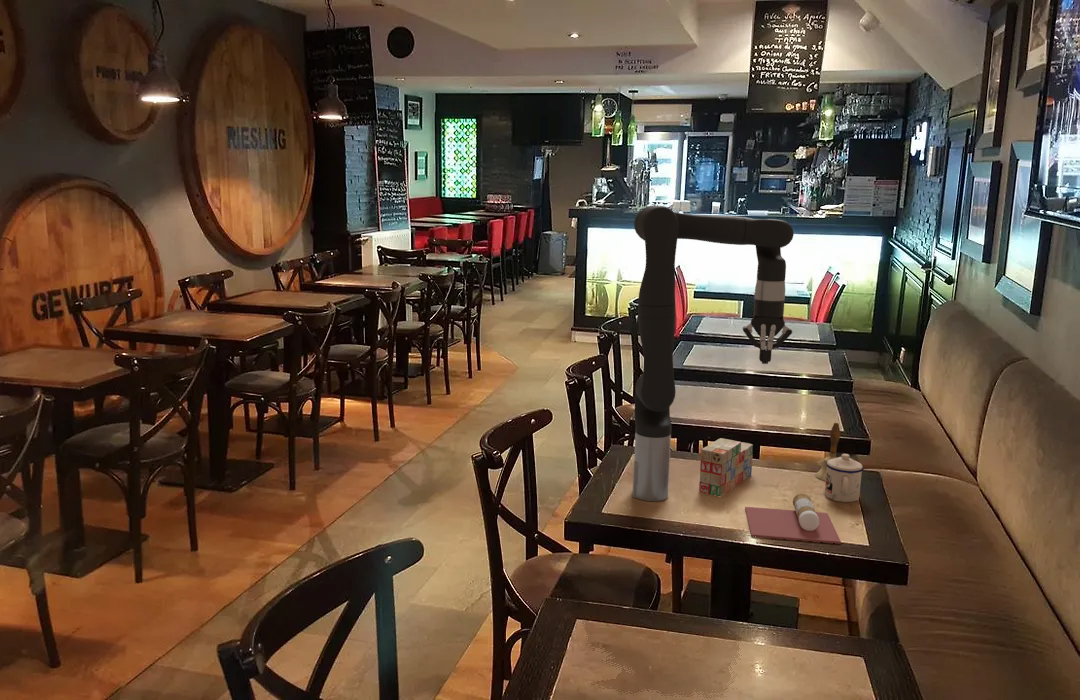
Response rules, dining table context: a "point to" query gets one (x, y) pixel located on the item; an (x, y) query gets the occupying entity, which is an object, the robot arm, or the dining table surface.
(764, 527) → the mat
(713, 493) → the stack of blocks
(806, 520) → the sprinkles bottle
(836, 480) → the teacup with lid
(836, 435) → the hand bell
